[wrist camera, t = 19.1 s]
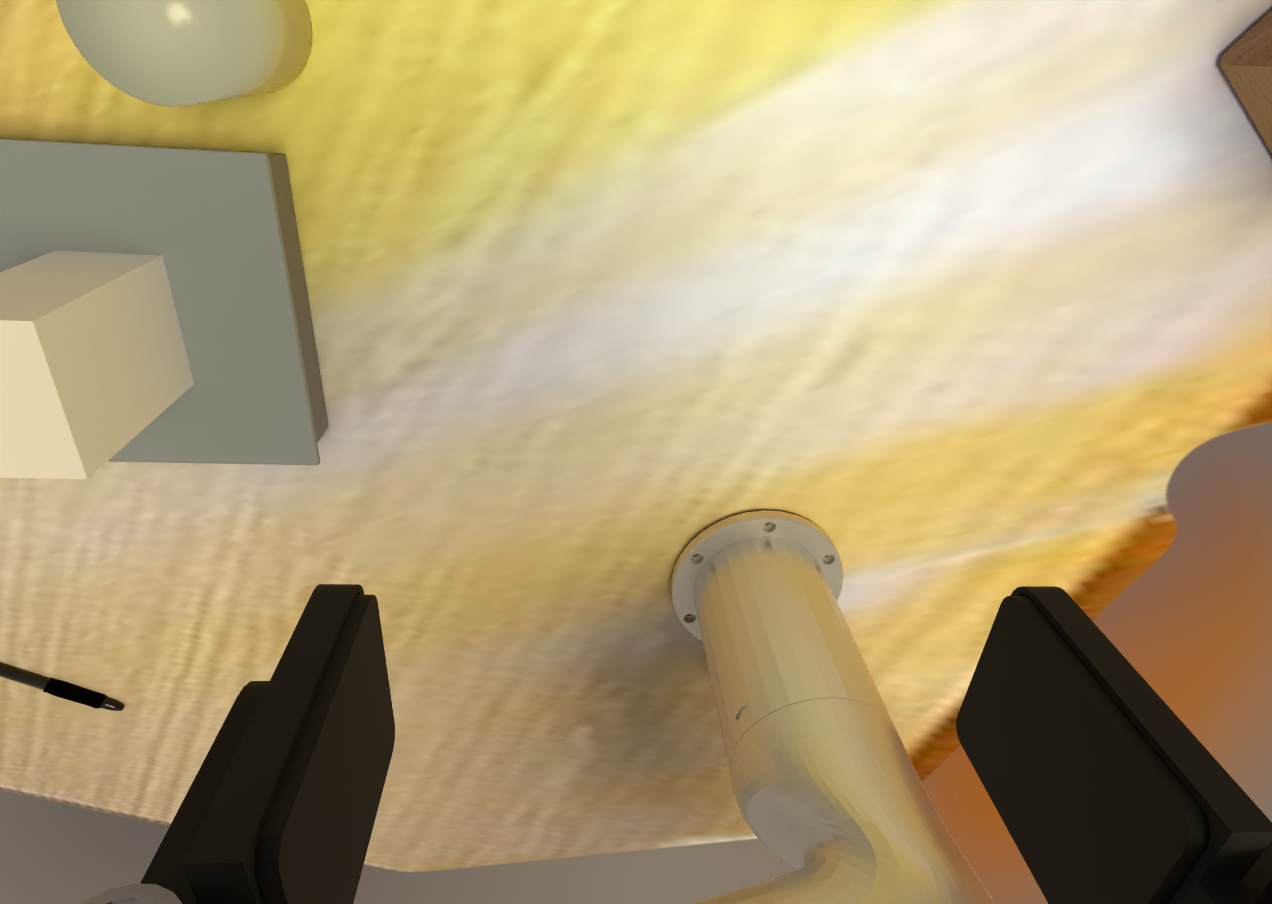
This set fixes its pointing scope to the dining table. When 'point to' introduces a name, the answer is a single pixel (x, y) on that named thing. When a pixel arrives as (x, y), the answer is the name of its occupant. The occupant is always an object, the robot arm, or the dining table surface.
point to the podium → (190, 282)
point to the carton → (84, 359)
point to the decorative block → (1253, 74)
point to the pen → (60, 688)
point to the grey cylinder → (191, 46)
